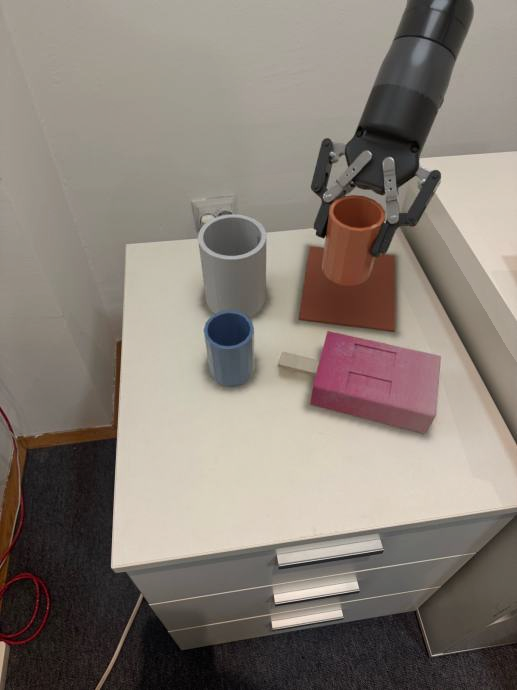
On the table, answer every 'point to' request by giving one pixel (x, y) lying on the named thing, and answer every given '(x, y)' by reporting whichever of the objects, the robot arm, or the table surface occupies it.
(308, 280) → the clay mat
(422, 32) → the robot arm
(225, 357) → the blue tumbler
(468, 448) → the table surface
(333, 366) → the popsicle
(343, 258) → the terracotta tumbler
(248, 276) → the cup
